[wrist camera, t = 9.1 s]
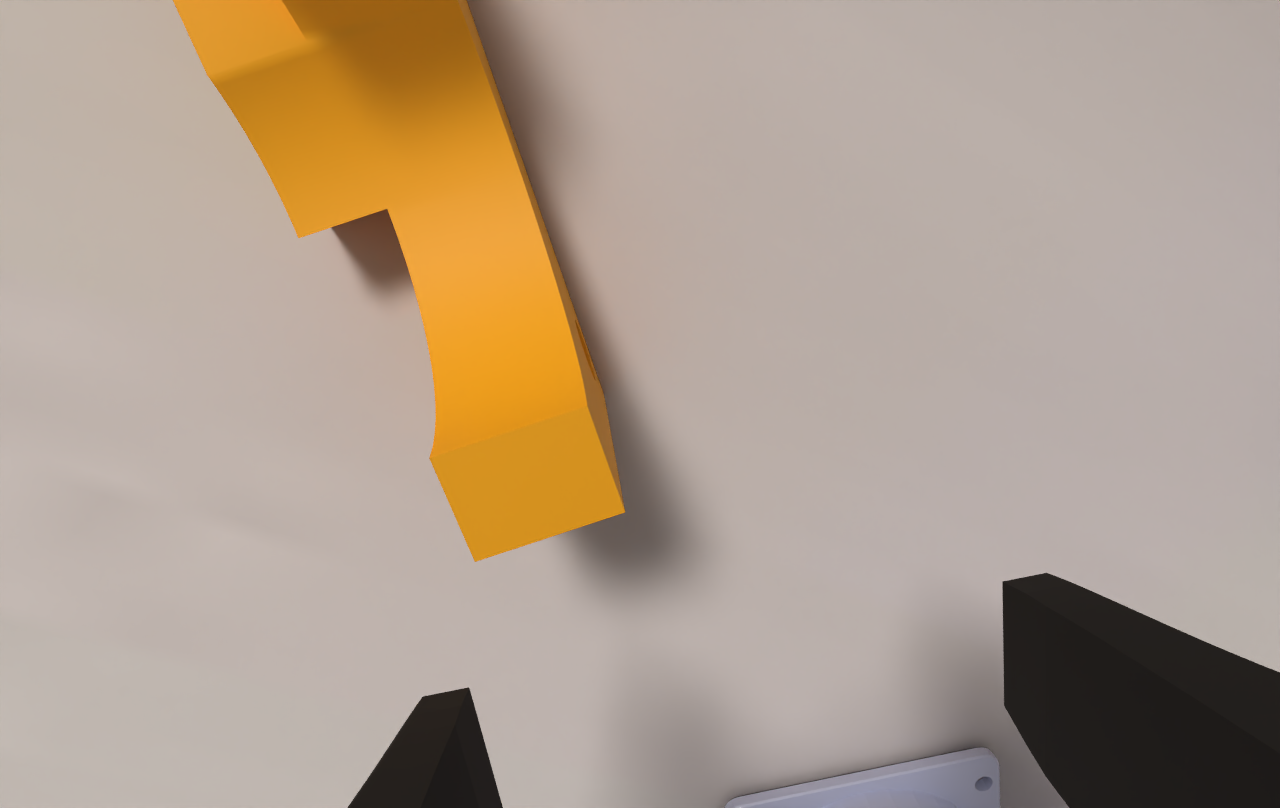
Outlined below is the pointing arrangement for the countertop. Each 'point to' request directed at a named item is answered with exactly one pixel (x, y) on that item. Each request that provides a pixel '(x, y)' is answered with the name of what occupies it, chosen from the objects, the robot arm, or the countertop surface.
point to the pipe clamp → (432, 235)
